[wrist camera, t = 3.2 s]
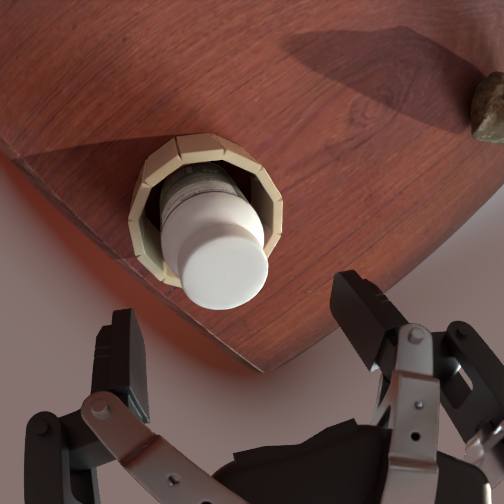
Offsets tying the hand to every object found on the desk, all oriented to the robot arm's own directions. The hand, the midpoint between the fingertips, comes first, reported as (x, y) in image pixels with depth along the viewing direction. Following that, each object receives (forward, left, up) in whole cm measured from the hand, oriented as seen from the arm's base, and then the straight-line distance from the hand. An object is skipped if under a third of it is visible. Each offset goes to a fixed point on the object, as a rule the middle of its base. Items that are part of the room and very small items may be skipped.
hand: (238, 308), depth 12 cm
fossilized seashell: (+21, +22, -12) cm, 33 cm away
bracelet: (0, 0, -12) cm, 12 cm away
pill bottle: (0, 0, -12) cm, 12 cm away
